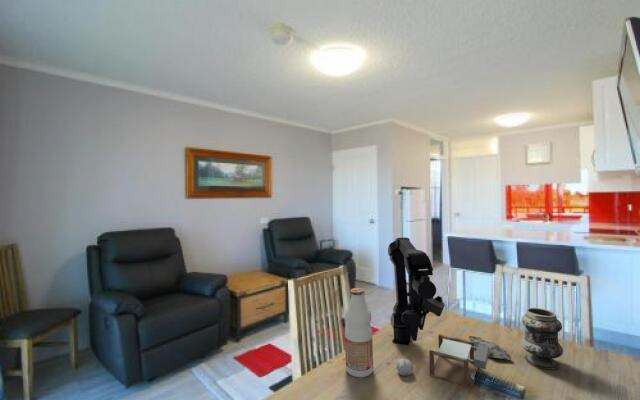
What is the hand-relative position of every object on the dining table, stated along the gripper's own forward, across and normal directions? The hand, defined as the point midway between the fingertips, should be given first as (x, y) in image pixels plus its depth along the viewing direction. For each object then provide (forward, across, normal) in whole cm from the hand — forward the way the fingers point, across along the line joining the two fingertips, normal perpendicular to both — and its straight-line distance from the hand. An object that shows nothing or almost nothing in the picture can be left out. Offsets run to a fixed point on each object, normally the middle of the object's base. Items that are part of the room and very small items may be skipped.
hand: (418, 335), depth 106 cm
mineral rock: (+13, +24, -20) cm, 34 cm away
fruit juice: (+13, -9, +18) cm, 24 cm away
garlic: (+13, -4, +4) cm, 14 cm away
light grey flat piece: (+7, +6, -13) cm, 16 cm away
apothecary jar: (+13, +26, -36) cm, 46 cm away
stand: (+12, +6, -11) cm, 18 cm away
